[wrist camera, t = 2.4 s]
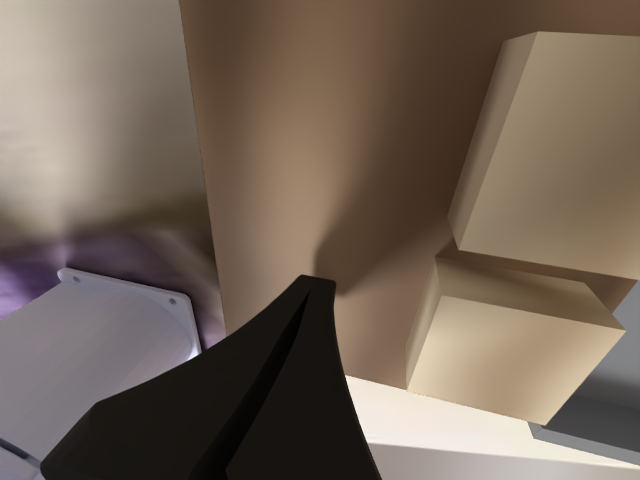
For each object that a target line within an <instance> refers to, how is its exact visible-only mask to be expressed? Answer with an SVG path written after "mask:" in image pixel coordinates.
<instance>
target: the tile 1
mask: <svg viewBox="0 0 640 480" xmlns="http://www.w3.org/2000/svg"><path fill="white" fill-rule="evenodd" d="M625 332H626V329H625V328H624V327H623V326H622V325H621V324H620V323H619V322H618V320H617V319H616V318H615V317H614V316H613V315H612V314H611V312H610V311H609V310H608V309H607V308H606V307H605V306H604V304H603V303H602V302H601V301H600V300H599V299H598V298H597V296H596V295H595V294H594V293H593V292H592V291H591V290H590V288H589V287H588V286H587V285H586V284H585V283H584V282H578V281H572V280H567V279H561V278H555V277H549V276H543V275H538V274H532V273H526V272H520V271H514V270H509V269H503V268H497V267H491V266H486V265H480V264H474V263H468V262H462V261H457V260H451V259H445V258H439V257H434V259H433V262H432V265H431V269H430V272H429V275H428V278H427V281H426V284H425V287H424V290H423V294H422V297H421V300H420V303H419V306H418V309H417V312H416V316H415V319H414V322H413V325H412V328H411V331H410V334H409V337H408V341H407V344H406V383H407V391H408V392H412V393H416V394H420V395H424V396H428V397H432V398H436V399H440V400H444V401H448V402H452V403H456V404H460V405H464V406H468V407H472V408H476V409H480V410H484V411H488V412H492V413H496V414H500V415H504V416H508V417H513V418H517V419H521V420H525V421H529V422H533V423H537V424H541V425H546V424H547V423H548V422H549V421H550V419H551V418H552V417H553V416H554V415H555V414H556V412H557V411H558V410H559V409H560V408H561V407H562V405H563V404H564V403H565V402H566V401H567V400H568V398H569V397H570V396H571V395H572V394H573V393H574V391H575V390H576V389H577V388H578V387H579V386H580V385H581V383H582V382H583V381H584V380H585V379H586V378H587V376H588V375H589V374H590V373H591V372H592V371H593V369H594V368H595V367H596V366H597V365H598V364H599V362H600V361H601V360H602V359H603V358H604V357H605V355H606V354H607V353H608V352H609V351H610V350H611V348H612V347H613V346H614V345H615V344H616V343H617V341H618V340H619V339H620V338H621V337H622V336H623V334H624V333H625Z"/></svg>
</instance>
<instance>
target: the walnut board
mask: <svg viewBox="0 0 640 480" xmlns="http://www.w3.org/2000/svg"><path fill="white" fill-rule="evenodd" d="M179 5H180V12H181V19H182V26H183V33H184V40H185V47H186V54H187V61H188V68H189V75H190V82H191V89H192V96H193V103H194V110H195V117H196V124H197V131H198V138H199V145H200V152H201V159H202V167H203V174H204V181H205V188H206V195H207V202H208V209H209V216H210V223H211V230H212V237H213V244H214V251H215V258H216V265H217V272H218V279H219V286H220V293H221V300H222V307H223V314H224V321H225V329H226V336H229V335H230V334H232V333H233V332H235V331H236V330H237V329H239V328H240V327H241V326H243V325H244V324H246V323H247V322H248V321H249V320H251V319H252V318H253V317H254V316H256V315H257V314H258V313H259V312H261V311H262V310H263V309H264V308H265V307H267V306H268V305H269V304H270V303H271V302H272V301H273V300H274V299H276V298H277V297H278V296H279V295H280V294H281V293H282V292H283V291H284V290H285V289H286V288H287V287H288V286H289V285H290V284H291V283H292V282H293V281H294V280H295V279H296V278H297V277H298V276H300V275H301V274H303V275H309V276H314V277H319V278H324V279H329V280H334V281H335V282H336V293H335V301H334V317H335V328H336V335H337V341H338V347H339V352H340V357H341V362H342V366H343V370H344V374H345V375H348V376H352V377H356V378H360V379H364V380H368V381H372V382H376V383H380V384H384V385H388V386H392V387H396V388H400V389H404V390H407V383H406V344H407V341H408V337H409V334H410V331H411V328H412V325H413V322H414V319H415V316H416V312H417V309H418V306H419V303H420V300H421V297H422V294H423V290H424V287H425V284H426V281H427V278H428V275H429V272H430V269H431V265H432V262H433V259H434V257H439V258H445V259H451V260H457V261H462V262H468V263H474V264H480V265H486V266H491V267H497V268H503V269H509V270H514V271H520V272H526V273H532V274H538V275H543V276H549V277H555V278H561V279H567V280H572V281H578V282H584V283H585V284H586V285H587V286H588V287H589V288H590V290H591V291H592V292H593V293H594V294H595V295H596V296H597V298H598V299H599V300H600V301H601V302H602V303H603V304H604V306H605V307H606V308H607V309H608V310H609V311H610V312H611V314H612V313H613V312H614V311H615V309H616V308H617V307H618V306H619V304H620V303H621V302H622V300H623V299H624V298H625V297H626V295H627V294H628V293H629V292H630V290H631V289H632V288H633V286H634V285H635V284H636V283H637V281H638V280H636V279H630V278H624V277H618V276H612V275H606V274H600V273H594V272H588V271H582V270H576V269H570V268H564V267H558V266H552V265H546V264H540V263H534V262H528V261H522V260H516V259H510V258H504V257H498V256H492V255H486V254H480V253H474V252H468V251H462V250H458V247H457V244H456V241H455V238H454V235H453V232H452V229H451V226H450V223H449V220H448V217H447V215H448V212H449V209H450V206H451V203H452V200H453V197H454V193H455V190H456V187H457V184H458V181H459V178H460V175H461V172H462V168H463V165H464V162H465V159H466V156H467V153H468V150H469V146H470V143H471V140H472V137H473V134H474V131H475V128H476V125H477V121H478V118H479V115H480V112H481V109H482V106H483V103H484V100H485V96H486V93H487V90H488V87H489V84H490V81H491V78H492V74H493V71H494V68H495V65H496V62H497V59H498V56H499V53H500V49H501V46H502V43H503V41H505V40H509V39H513V38H516V37H520V36H523V35H527V34H531V33H534V32H538V31H540V32H560V33H580V34H599V35H619V36H638V37H640V0H179Z"/></svg>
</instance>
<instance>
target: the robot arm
mask: <svg viewBox="0 0 640 480" xmlns="http://www.w3.org/2000/svg"><path fill="white" fill-rule="evenodd" d="M58 276H59V278H60V280H61V282H62V283H60V284H58V285H57V286H55V287H53V288H52V289H50V290H49V291H47V292H46V293H44V294H42V295H41V296H39V297H38V298H36V299H34V300H33V301H31V302H30V303H28V304H26V305H25V306H23V307H22V308H20V309H19V310H17V311H15V312H14V313H12V314H11V315H9V316H7V317H6V318H4V319H3V320H1V321H0V480H382V478H381V476H380V474H379V471H378V469H377V467H376V464H375V462H374V459H373V457H372V454H371V452H370V449H369V447H368V444H367V442H366V439H365V436H364V434H363V431H362V428H361V426H360V423H359V420H358V417H357V414H356V411H355V408H354V404H353V401H352V398H351V395H350V392H349V389H348V385H347V381H346V378H345V374H344V370H343V366H342V362H341V357H340V352H339V347H338V341H337V335H336V328H335V317H334V301H335V293H336V282H335V281H334V280H329V279H324V278H319V277H314V276H309V275H303V274H301V275H300V276H298V277H297V278H296V279H295V280H294V281H293V282H292V283H291V284H290V285H289V286H288V287H287V288H286V289H285V290H284V291H283V292H282V293H281V294H280V295H279V296H278V297H277V298H276V299H274V300H273V301H272V302H271V303H270V304H269V305H268V306H267V307H265V308H264V309H263V310H262V311H261V312H259V313H258V314H257V315H256V316H254V317H253V318H252V319H251V320H249V321H248V322H247V323H246V324H244V325H243V326H241V327H240V328H239V329H237V330H236V331H235V332H233V333H232V334H230V335H229V336H227V337H226V338H224V339H223V340H221V341H220V342H218V343H217V344H215V345H213V346H212V347H210V348H208V349H207V350H205V351H203V352H201V347H200V342H199V338H198V333H197V328H196V324H195V319H194V314H193V309H192V305H191V301H190V298H189V297H188V296H187V295H185V294H183V293H178V292H174V291H169V290H164V289H160V288H155V287H151V286H146V285H142V284H137V283H133V282H128V281H124V280H119V279H115V278H110V277H106V276H101V275H97V274H92V273H88V272H83V271H79V270H74V269H70V268H62V269H61V270H59V271H58Z"/></svg>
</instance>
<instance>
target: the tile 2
mask: <svg viewBox="0 0 640 480" xmlns="http://www.w3.org/2000/svg"><path fill="white" fill-rule="evenodd" d="M447 217H448V220H449V223H450V226H451V229H452V232H453V235H454V238H455V241H456V244H457V247H458V250H462V251H468V252H474V253H480V254H486V255H492V256H498V257H504V258H510V259H516V260H522V261H528V262H534V263H540V264H546V265H552V266H558V267H564V268H570V269H576V270H582V271H588V272H594V273H600V274H606V275H612V276H618V277H624V278H630V279H636V280H640V37H638V36H619V35H599V34H580V33H560V32H540V31H538V32H534V33H531V34H527V35H523V36H520V37H516V38H513V39H509V40H505V41H503V43H502V46H501V49H500V53H499V56H498V59H497V62H496V65H495V68H494V71H493V74H492V78H491V81H490V84H489V87H488V90H487V93H486V96H485V100H484V103H483V106H482V109H481V112H480V115H479V118H478V121H477V125H476V128H475V131H474V134H473V137H472V140H471V143H470V146H469V150H468V153H467V156H466V159H465V162H464V165H463V168H462V172H461V175H460V178H459V181H458V184H457V187H456V190H455V193H454V197H453V200H452V203H451V206H450V209H449V212H448V215H447Z"/></svg>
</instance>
